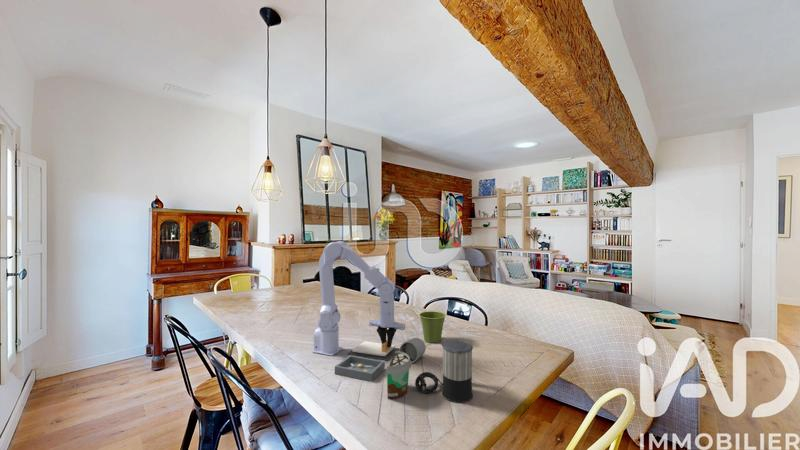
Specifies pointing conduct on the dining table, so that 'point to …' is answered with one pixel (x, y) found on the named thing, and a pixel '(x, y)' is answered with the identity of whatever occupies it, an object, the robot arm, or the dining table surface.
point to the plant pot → (432, 325)
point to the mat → (376, 355)
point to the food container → (398, 375)
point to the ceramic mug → (413, 348)
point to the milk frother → (452, 372)
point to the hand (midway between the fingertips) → (386, 346)
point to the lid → (373, 348)
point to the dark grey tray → (360, 368)
